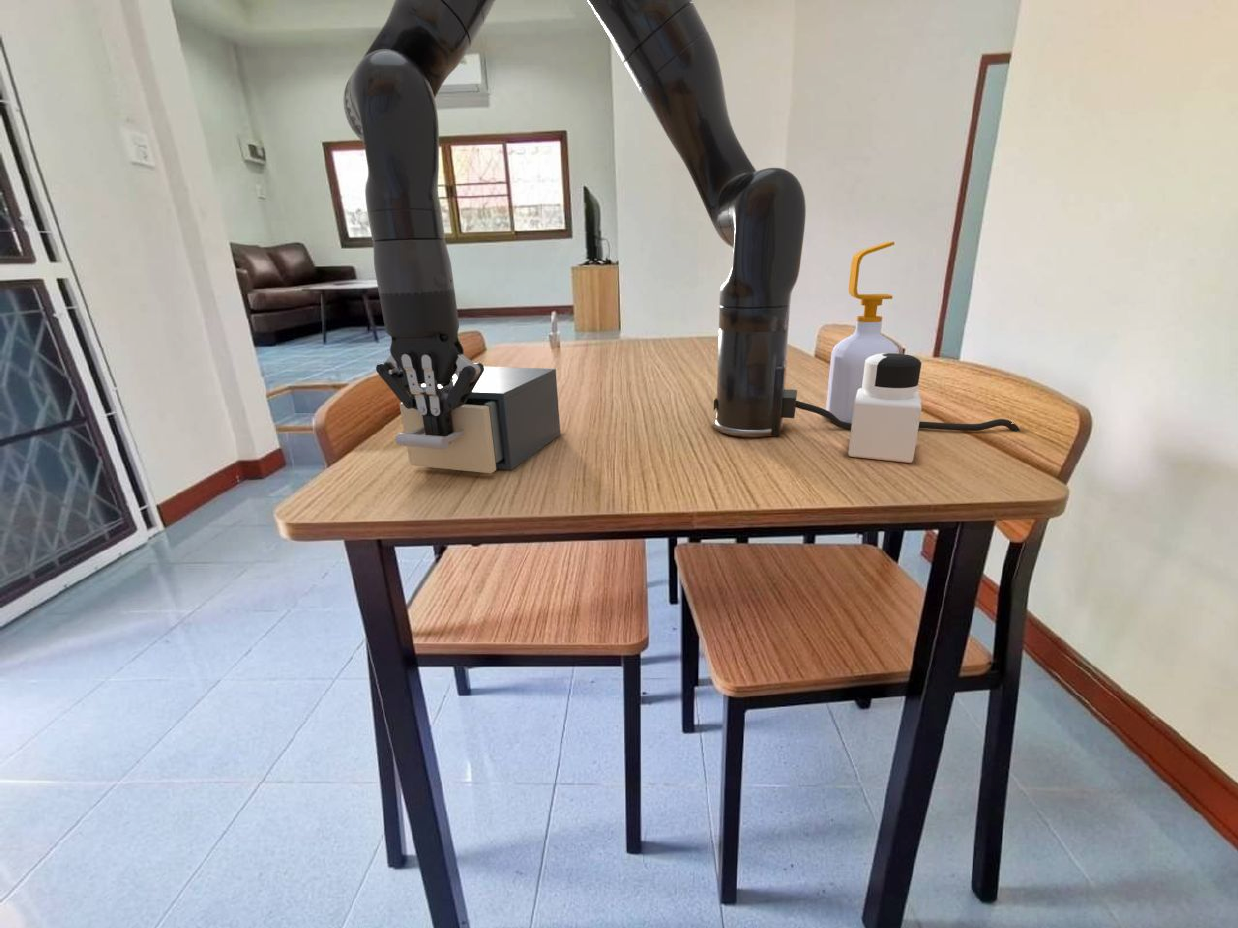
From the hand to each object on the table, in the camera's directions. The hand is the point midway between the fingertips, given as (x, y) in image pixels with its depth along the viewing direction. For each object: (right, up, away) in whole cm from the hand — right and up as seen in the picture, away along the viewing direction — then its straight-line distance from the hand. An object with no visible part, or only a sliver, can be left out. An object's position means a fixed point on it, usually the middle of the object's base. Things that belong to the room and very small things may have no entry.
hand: (440, 444), depth 64 cm
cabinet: (+4, 0, +12) cm, 13 cm away
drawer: (+2, -1, +6) cm, 7 cm away
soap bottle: (+56, +4, +19) cm, 59 cm away
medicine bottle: (+53, -1, +6) cm, 54 cm away
